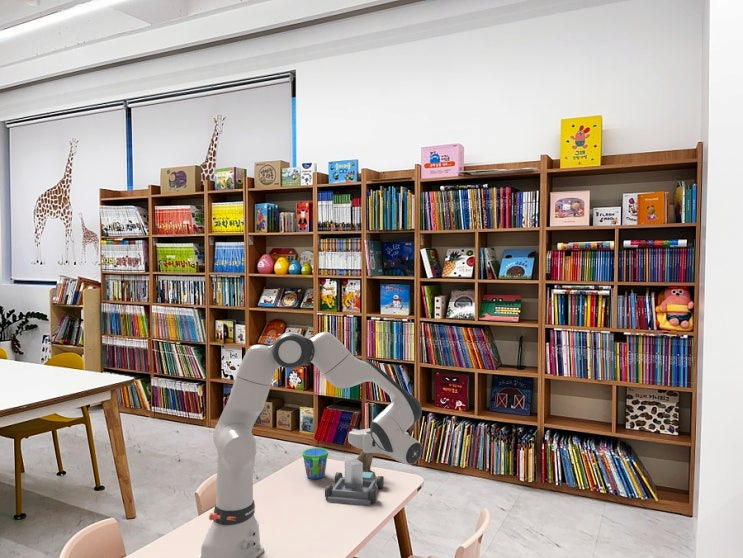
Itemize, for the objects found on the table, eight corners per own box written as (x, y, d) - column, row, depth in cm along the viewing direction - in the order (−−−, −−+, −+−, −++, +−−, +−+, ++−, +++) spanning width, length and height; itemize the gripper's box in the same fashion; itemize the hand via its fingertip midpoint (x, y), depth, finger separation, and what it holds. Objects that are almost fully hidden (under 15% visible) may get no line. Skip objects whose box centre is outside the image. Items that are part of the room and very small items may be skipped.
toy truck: (373, 505, 199) (373, 493, 199) (323, 501, 203) (323, 489, 203) (384, 484, 219) (384, 473, 219) (338, 480, 223) (338, 469, 223)
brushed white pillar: (362, 491, 208) (362, 462, 208) (351, 494, 206) (351, 465, 205) (356, 486, 212) (355, 458, 212) (344, 489, 210) (344, 461, 209)
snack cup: (304, 469, 235) (304, 445, 235) (329, 469, 235) (329, 445, 235) (300, 483, 219) (300, 458, 219) (326, 483, 219) (326, 458, 219)
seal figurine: (375, 481, 228) (383, 441, 225) (367, 485, 224) (374, 444, 221) (354, 469, 235) (361, 429, 232) (345, 472, 231) (352, 432, 228)
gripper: (411, 426, 190) (389, 416, 201) (361, 434, 179) (340, 424, 190) (411, 444, 190) (388, 433, 201) (360, 454, 179) (340, 442, 190)
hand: (364, 429), depth 196 cm, fingers open, 8 cm apart
